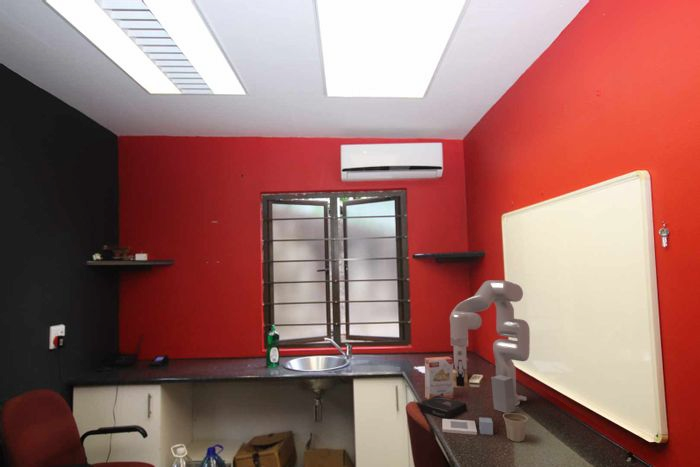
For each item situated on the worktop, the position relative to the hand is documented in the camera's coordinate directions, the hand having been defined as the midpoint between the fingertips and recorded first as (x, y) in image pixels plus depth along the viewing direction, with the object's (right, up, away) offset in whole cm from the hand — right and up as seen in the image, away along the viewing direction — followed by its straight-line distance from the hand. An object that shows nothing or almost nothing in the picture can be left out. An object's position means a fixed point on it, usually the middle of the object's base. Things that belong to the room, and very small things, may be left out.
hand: (459, 383), depth 182 cm
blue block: (+9, -18, -6) cm, 21 cm away
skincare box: (+26, -20, +18) cm, 38 cm away
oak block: (0, -1, 0) cm, 1 cm away
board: (-1, -18, -2) cm, 19 cm away
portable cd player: (-4, -21, +19) cm, 28 cm away
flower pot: (+19, -18, -14) cm, 29 cm away
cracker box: (-1, -21, +37) cm, 42 cm away
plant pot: (+17, -24, +71) cm, 77 cm away
